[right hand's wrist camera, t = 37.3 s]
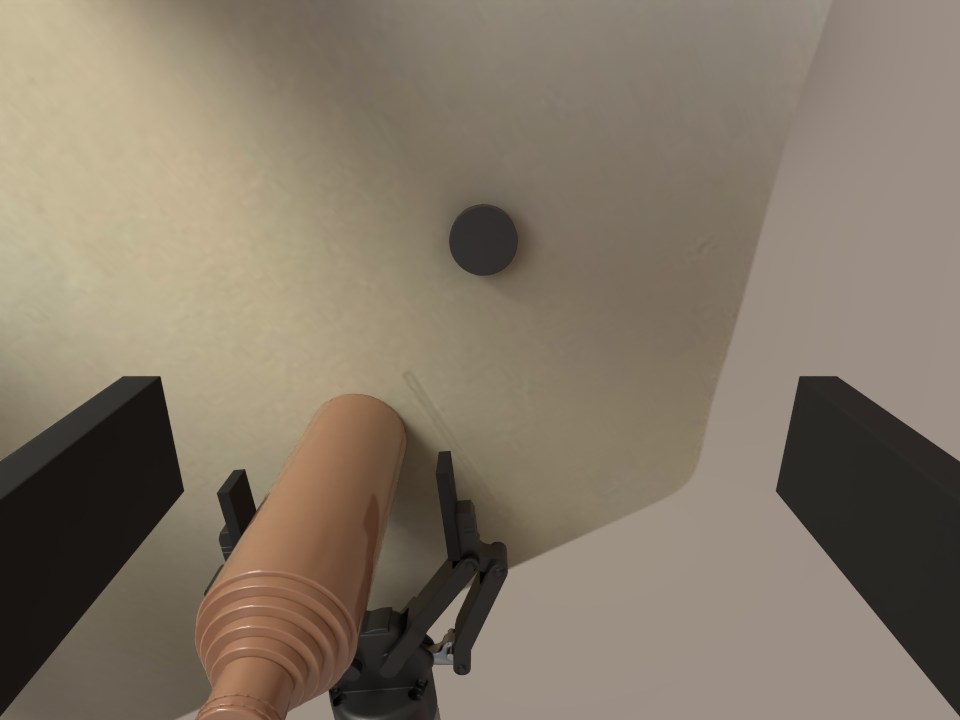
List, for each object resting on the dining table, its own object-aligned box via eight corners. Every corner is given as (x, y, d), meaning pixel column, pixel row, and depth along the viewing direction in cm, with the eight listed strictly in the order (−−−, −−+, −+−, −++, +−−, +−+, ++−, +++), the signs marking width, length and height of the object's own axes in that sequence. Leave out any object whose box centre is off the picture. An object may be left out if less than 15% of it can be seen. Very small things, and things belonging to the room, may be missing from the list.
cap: (449, 205, 39) (447, 208, 37) (515, 203, 39) (517, 206, 37) (452, 271, 40) (450, 276, 39) (516, 269, 40) (517, 274, 39)
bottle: (426, 432, 45) (370, 731, 22) (368, 497, 47) (263, 830, 24) (346, 374, 43) (199, 633, 21) (290, 443, 45) (100, 748, 23)
